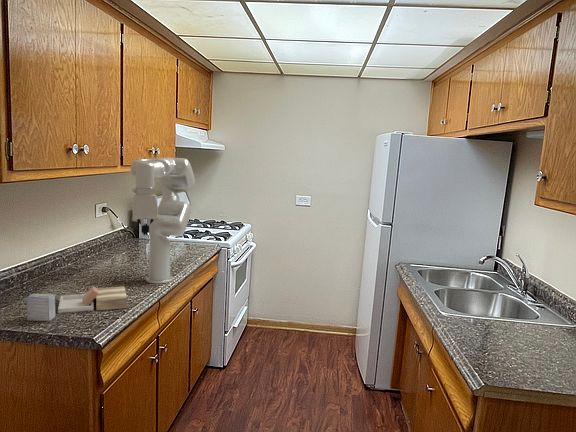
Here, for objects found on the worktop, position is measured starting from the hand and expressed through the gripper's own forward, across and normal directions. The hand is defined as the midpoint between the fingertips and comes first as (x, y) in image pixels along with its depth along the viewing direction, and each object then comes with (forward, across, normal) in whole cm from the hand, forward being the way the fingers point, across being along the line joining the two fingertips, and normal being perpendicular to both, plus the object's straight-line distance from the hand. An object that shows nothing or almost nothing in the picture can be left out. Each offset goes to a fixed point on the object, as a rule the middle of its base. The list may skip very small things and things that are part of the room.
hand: (145, 234), depth 189 cm
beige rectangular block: (+25, -14, -11) cm, 31 cm away
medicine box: (+25, -38, -23) cm, 51 cm away
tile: (+23, -21, -11) cm, 33 cm away
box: (+25, -27, -11) cm, 38 cm away
